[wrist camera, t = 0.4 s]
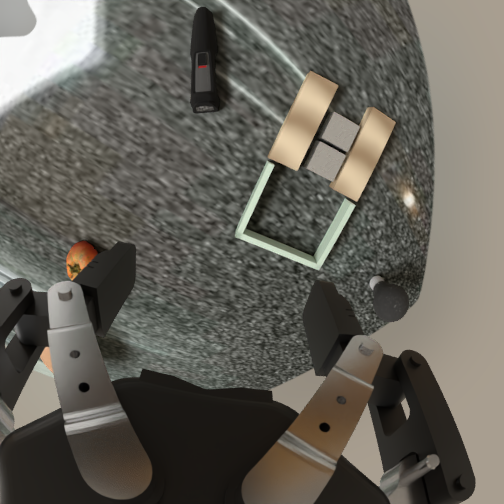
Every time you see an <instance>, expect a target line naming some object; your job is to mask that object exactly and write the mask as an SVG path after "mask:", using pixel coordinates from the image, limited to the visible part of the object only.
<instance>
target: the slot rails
mask: <svg viewBox="0 0 504 504" xmlns="http://www.w3.org/2000/svg"><path fill="white" fill-rule="evenodd" d="M337 88H338V85H336V84H335V83H333V82H331V81H329V80H327V79H325V78H323V77H322V76H320V75H318V74H316V73H314V72H312V71H310V72H309V73H308V74H307V76H306V78H305V80H304V82H303V84H302V86H301V88H300V90H299V92H298V94H297V96H296V98H295V100H294V102H293V104H292V106H291V108H290V110H289V113H288V115H287V117H286V119H285V121H284V123H283V125H282V127H281V129H280V131H279V133H278V135H277V138H276V140H275V142H274V144H273V146H272V148H271V150H270V152H269V155H268V158H270V159H272V160H274V161H277V162H279V163H281V164H283V165H285V166H287V167H290V168H292V169H294V170H296V171H297V170H298V168H299V166H300V164H301V162H302V160H303V158H304V156H305V154H306V152H307V150H308V148H309V146H310V144H311V141H312V139H313V137H314V135H315V133H316V131H317V129H318V127H319V125H320V123H321V121H322V119H323V117H324V115H325V113H326V110H327V108H328V106H329V104H330V102H331V100H332V98H333V96H334V94H335V92H336V90H337ZM395 123H396V122H394V121H393V120H392V119H390V118H389V117H387V116H386V115H385V114H383V113H382V112H380V111H379V110H377V109H376V108H374V107H369V108H367V110H366V112H365V114H364V116H363V118H362V120H361V122H360V125H359V126H360V128H359V130H358V132H357V134H356V136H355V138H354V140H353V143H352V145H351V147H350V149H349V151H348V152H346V154H345V155H346V157H345V159H344V161H343V163H342V165H341V167H340V169H339V171H338V173H337V175H336V177H335V179H334V181H333V182H331V184H330V187H331V188H332V189H334V190H336V191H338V192H340V193H342V194H343V195H345V196H347V197H349V198H351V199H353V200H355V201H356V202H357V201H358V199H359V197H360V195H361V193H362V192H363V190H364V188H365V186H366V184H367V182H368V180H369V178H370V176H371V174H372V172H373V170H374V168H375V166H376V164H377V162H378V160H379V158H380V156H381V153H382V151H383V149H384V147H385V145H386V143H387V141H388V139H389V136H390V134H391V132H392V130H393V128H394V125H395Z"/></svg>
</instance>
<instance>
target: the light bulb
mask: <svg viewBox="0 0 504 504" xmlns="http://www.w3.org/2000/svg"><path fill="white" fill-rule="evenodd" d="M370 287H371V288H372V290H373V293H374V301H373V303H374V310H375V312H376V314H377V315H378V317H379V318H381V319H382V320H384V321H387V322H394V321H398V320H399V319H401V318H402V317H403V316H404V315H405V314H406V312H407V310H408V307H409V298H408V295H407V293H406V292H405V290H404V289H403V288H401V287H400V286H398V285H395V284H389V283H387V282H386V281H384V280H383V278H381V277H380V276H374V277H373V278H372V279H371V280H370Z"/></svg>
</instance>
